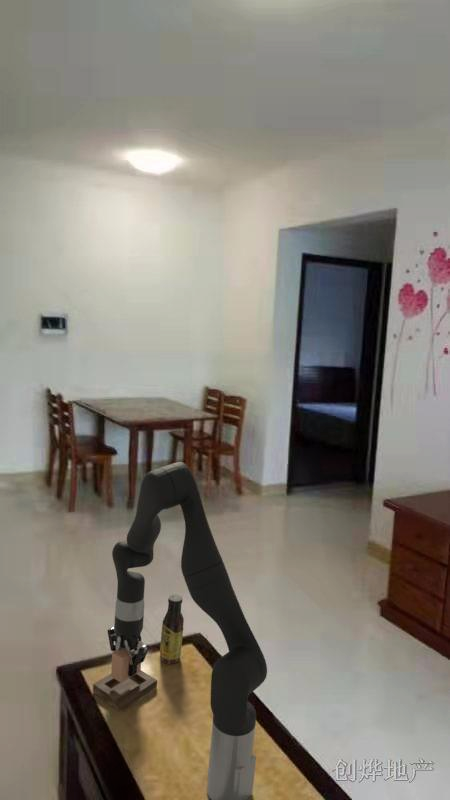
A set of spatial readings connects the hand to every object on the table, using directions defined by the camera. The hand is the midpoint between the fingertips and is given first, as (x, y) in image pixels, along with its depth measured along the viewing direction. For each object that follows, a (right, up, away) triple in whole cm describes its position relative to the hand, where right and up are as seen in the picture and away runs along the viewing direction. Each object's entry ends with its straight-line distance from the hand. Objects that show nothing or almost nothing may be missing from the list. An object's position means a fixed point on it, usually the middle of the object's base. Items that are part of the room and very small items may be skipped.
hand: (125, 671), depth 163 cm
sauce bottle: (+10, -4, +17) cm, 20 cm away
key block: (0, -1, 0) cm, 1 cm away
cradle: (0, -6, +1) cm, 6 cm away
